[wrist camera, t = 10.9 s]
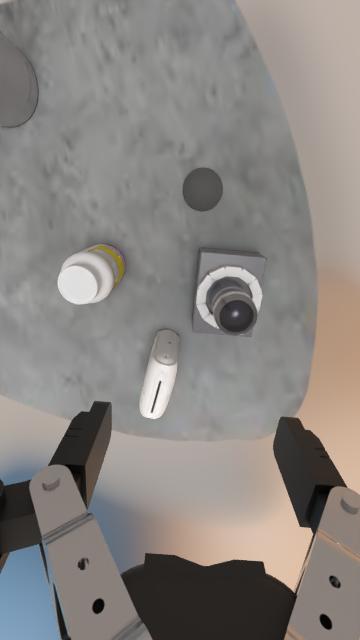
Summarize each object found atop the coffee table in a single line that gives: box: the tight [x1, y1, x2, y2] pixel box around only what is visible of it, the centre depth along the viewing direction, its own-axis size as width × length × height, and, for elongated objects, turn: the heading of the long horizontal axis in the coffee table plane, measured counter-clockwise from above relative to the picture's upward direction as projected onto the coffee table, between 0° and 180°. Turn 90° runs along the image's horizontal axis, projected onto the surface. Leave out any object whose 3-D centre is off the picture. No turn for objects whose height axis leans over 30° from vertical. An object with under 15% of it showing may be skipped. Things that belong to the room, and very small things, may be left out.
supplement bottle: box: [58, 244, 125, 304], centre depth 39 cm, size 7×7×13 cm
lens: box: [210, 280, 257, 335], centre depth 38 cm, size 5×5×8 cm
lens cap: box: [183, 168, 222, 211], centre depth 41 cm, size 6×6×1 cm
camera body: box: [192, 248, 267, 337], centre depth 43 cm, size 9×12×6 cm
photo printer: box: [139, 329, 179, 419], centre depth 45 cm, size 10×4×12 cm, turn 165°
